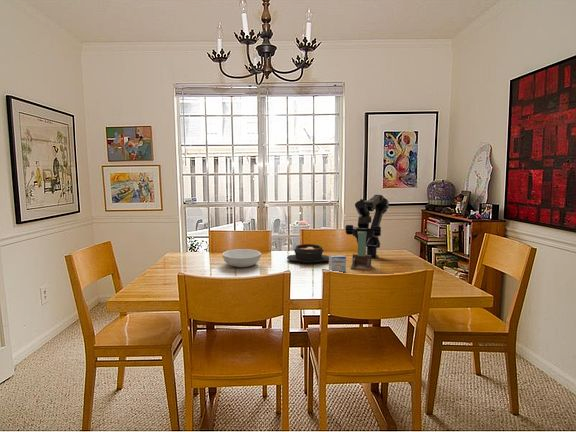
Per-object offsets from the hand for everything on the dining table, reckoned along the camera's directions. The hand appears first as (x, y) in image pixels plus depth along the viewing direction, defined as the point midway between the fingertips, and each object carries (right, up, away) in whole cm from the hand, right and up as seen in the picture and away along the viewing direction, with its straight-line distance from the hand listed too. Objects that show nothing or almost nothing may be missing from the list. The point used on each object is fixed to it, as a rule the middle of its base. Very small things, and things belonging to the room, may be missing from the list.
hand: (361, 243), depth 189 cm
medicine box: (-14, -15, -6) cm, 21 cm away
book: (0, -6, +2) cm, 7 cm away
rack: (0, -13, +3) cm, 13 cm away
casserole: (-27, -12, +16) cm, 34 cm away
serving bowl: (-64, -13, +7) cm, 66 cm away
